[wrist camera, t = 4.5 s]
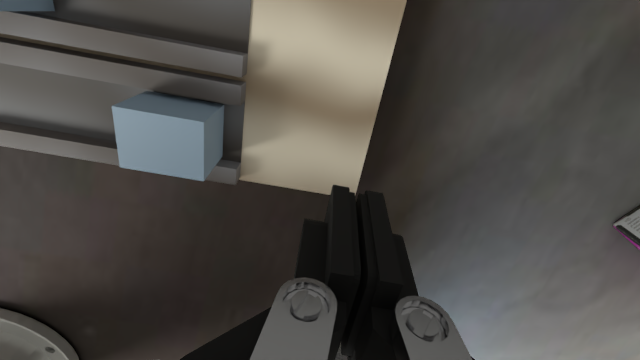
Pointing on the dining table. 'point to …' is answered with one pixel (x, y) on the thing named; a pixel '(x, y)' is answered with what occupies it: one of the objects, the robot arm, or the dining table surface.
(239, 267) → the dining table surface
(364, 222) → the robot arm
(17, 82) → the switch board
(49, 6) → the tab
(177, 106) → the tab
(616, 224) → the candy bar box
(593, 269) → the dining table surface
